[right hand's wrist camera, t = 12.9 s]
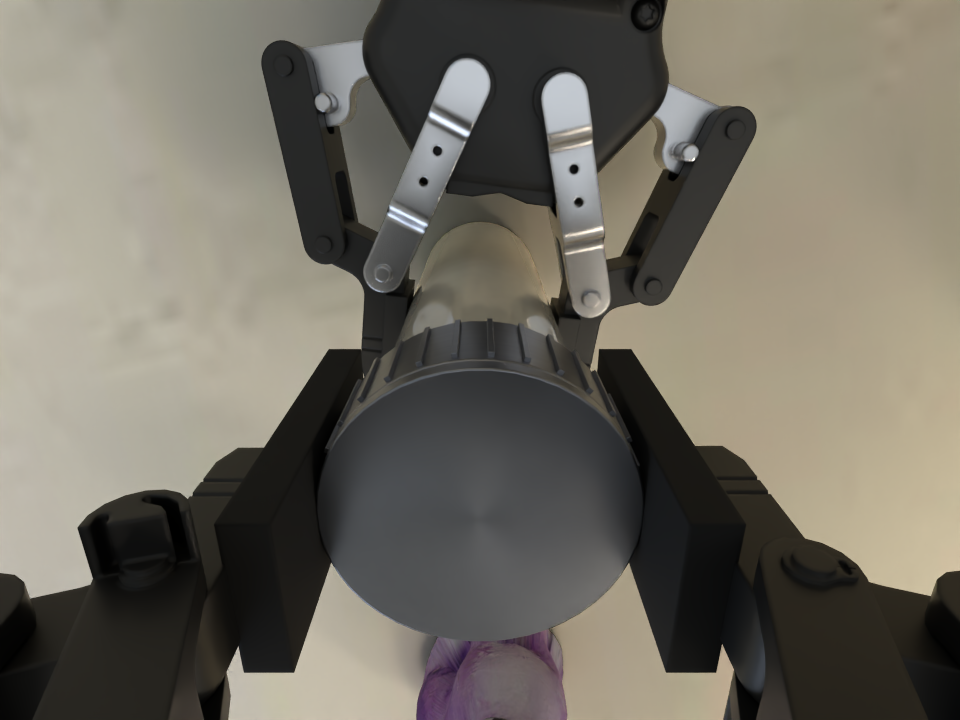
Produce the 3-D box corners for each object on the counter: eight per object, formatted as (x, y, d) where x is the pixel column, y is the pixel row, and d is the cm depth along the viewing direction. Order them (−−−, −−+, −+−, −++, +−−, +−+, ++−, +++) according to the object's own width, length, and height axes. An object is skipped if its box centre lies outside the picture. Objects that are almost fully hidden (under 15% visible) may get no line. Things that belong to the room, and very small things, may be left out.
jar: (405, 252, 25) (294, 451, 10) (506, 201, 25) (547, 335, 9) (456, 345, 27) (425, 638, 12) (552, 300, 26) (652, 552, 11)
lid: (286, 391, 12) (242, 453, 10) (551, 264, 11) (569, 302, 9) (423, 592, 14) (412, 682, 12) (658, 499, 13) (696, 579, 11)
